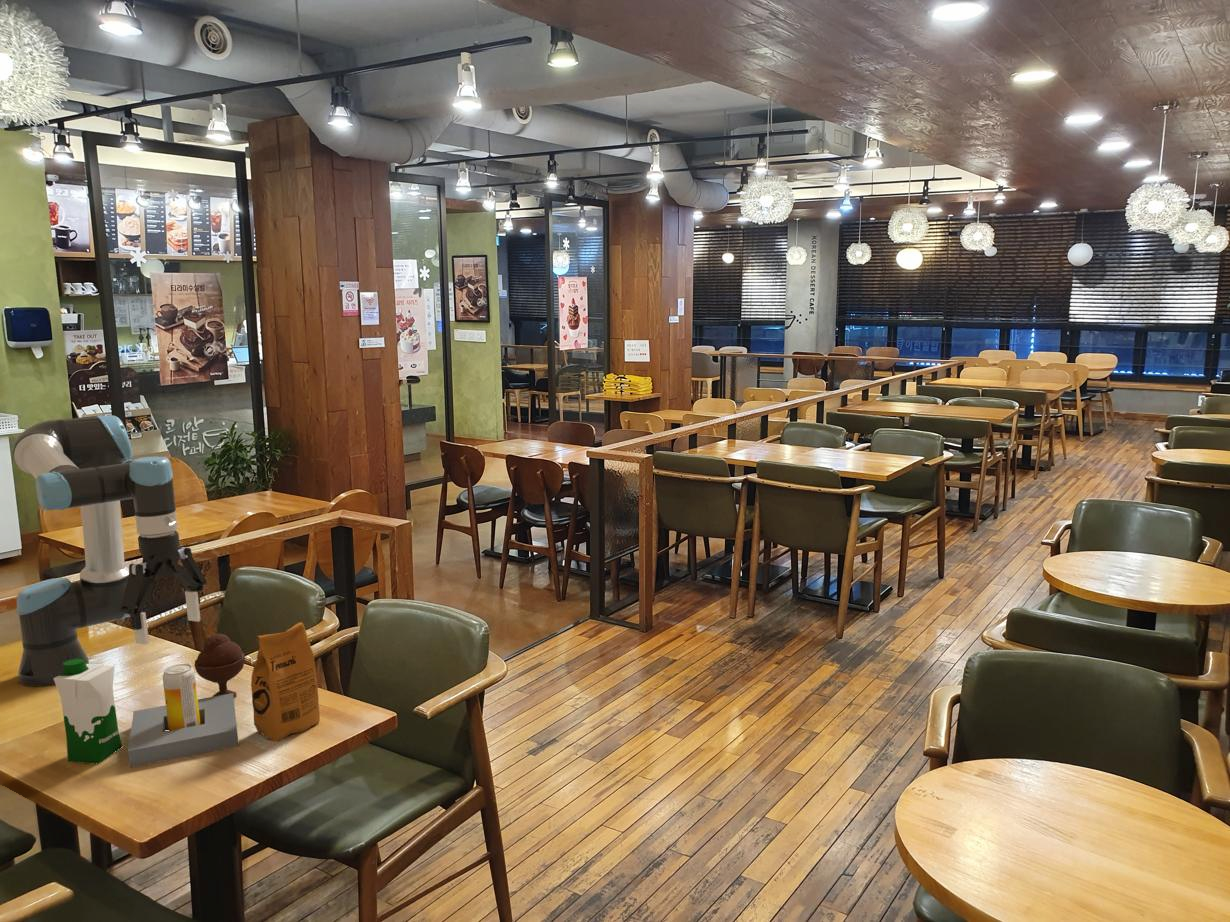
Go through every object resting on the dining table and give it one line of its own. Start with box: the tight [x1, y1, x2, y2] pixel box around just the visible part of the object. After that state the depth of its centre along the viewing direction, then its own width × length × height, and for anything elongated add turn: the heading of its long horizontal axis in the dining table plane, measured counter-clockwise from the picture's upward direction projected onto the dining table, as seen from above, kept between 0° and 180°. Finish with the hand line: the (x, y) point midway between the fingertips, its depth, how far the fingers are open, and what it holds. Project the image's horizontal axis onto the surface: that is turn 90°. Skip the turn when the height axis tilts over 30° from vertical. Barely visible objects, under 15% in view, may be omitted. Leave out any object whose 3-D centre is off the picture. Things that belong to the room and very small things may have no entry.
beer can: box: [162, 663, 200, 731], centre depth 195 cm, size 6×6×15 cm
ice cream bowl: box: [194, 633, 246, 699], centre depth 213 cm, size 11×11×15 cm
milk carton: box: [54, 658, 123, 765], centre depth 187 cm, size 9×9×20 cm
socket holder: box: [127, 693, 240, 768], centre depth 196 cm, size 20×20×4 cm
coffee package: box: [250, 622, 321, 742], centre depth 197 cm, size 10×12×22 cm
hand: (169, 631), depth 193 cm, fingers open, 13 cm apart
